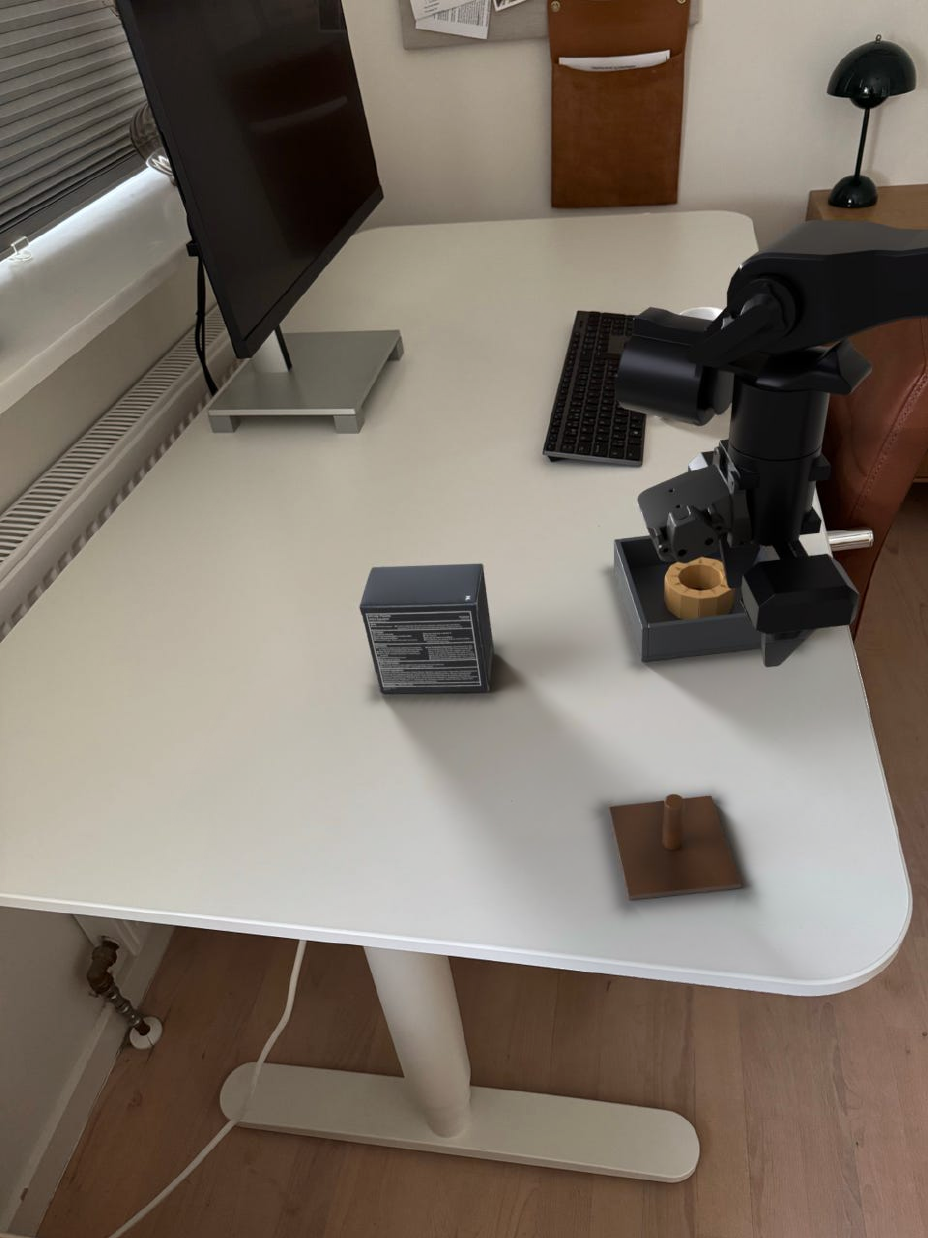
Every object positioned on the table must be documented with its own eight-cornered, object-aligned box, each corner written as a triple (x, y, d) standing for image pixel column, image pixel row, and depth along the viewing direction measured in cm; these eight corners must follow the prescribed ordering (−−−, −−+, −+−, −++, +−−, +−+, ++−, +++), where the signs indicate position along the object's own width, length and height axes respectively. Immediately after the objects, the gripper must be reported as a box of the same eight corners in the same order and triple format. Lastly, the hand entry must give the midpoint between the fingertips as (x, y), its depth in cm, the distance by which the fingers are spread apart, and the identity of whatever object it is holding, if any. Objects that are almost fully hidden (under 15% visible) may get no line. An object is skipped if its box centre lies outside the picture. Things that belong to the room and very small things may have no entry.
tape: (722, 577, 90) (724, 553, 88) (740, 618, 85) (743, 593, 83) (658, 585, 90) (659, 561, 88) (673, 626, 85) (674, 601, 83)
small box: (496, 646, 86) (485, 559, 80) (490, 694, 81) (479, 605, 75) (389, 648, 88) (370, 562, 81) (378, 695, 83) (356, 607, 76)
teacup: (732, 362, 128) (735, 326, 124) (677, 366, 129) (679, 330, 125) (723, 334, 135) (725, 299, 132) (671, 338, 136) (672, 303, 133)
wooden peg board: (711, 799, 70) (715, 752, 66) (740, 888, 63) (747, 841, 60) (609, 811, 70) (608, 764, 66) (628, 900, 64) (629, 854, 60)
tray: (749, 555, 93) (753, 522, 90) (795, 644, 82) (801, 610, 79) (613, 571, 93) (613, 539, 91) (641, 662, 82) (642, 628, 80)
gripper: (622, 391, 64) (621, 564, 74) (684, 535, 50) (673, 726, 60) (776, 371, 64) (755, 548, 74) (883, 511, 50) (840, 707, 60)
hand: (752, 624), depth 67 cm, fingers open, 9 cm apart
